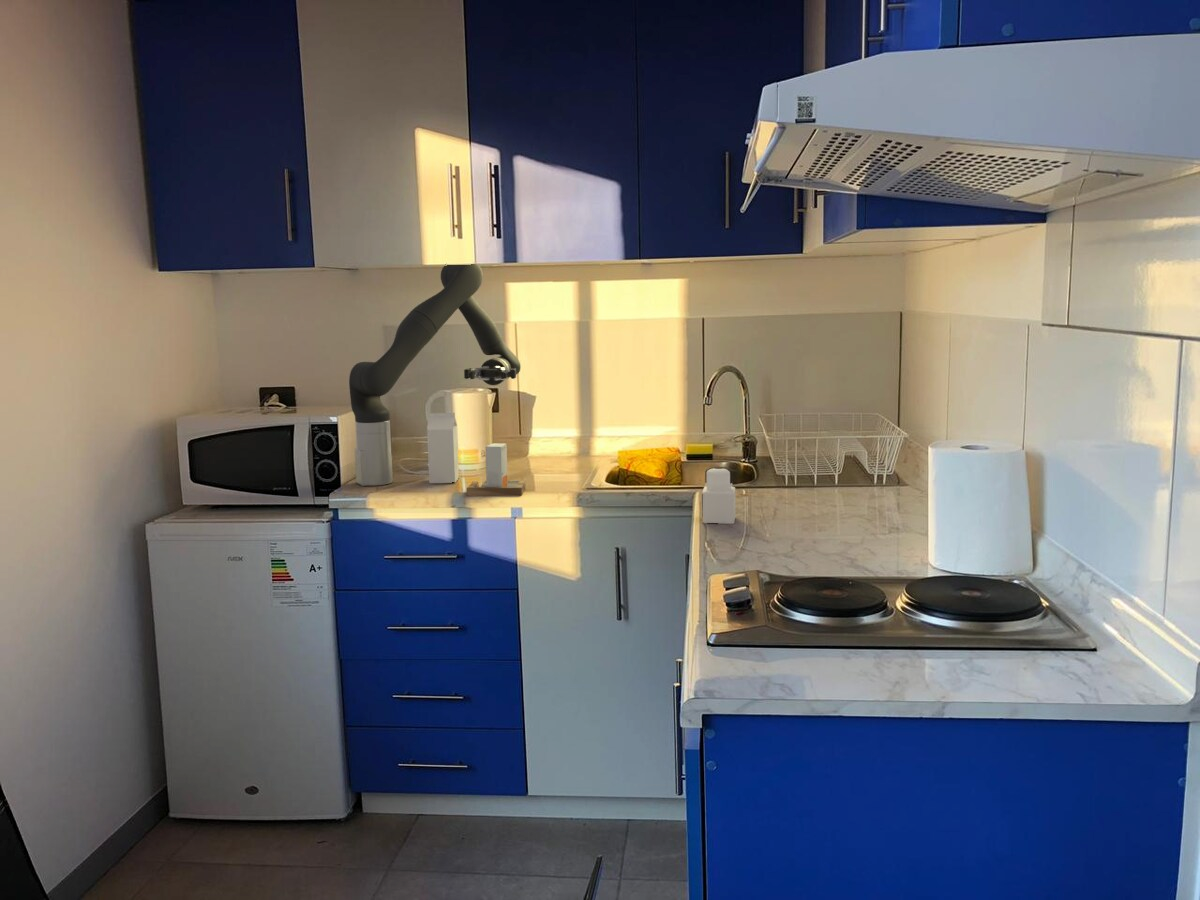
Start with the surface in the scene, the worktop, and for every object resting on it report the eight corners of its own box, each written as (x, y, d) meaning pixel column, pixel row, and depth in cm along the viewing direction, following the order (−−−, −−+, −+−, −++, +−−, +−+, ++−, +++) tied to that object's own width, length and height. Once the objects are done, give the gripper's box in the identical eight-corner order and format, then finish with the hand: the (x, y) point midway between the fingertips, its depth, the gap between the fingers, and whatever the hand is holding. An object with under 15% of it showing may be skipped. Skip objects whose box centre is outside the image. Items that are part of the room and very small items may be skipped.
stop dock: (478, 482, 287) (477, 475, 287) (529, 482, 287) (528, 474, 286) (467, 496, 269) (466, 488, 268) (521, 495, 268) (521, 487, 268)
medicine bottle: (703, 516, 240) (703, 465, 238) (735, 517, 239) (735, 465, 237) (701, 523, 233) (701, 470, 232) (734, 524, 232) (734, 470, 230)
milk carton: (455, 483, 286) (452, 414, 283) (429, 484, 286) (426, 414, 283) (459, 478, 293) (456, 411, 290) (433, 479, 293) (431, 411, 290)
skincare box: (502, 492, 270) (501, 446, 268) (486, 492, 271) (484, 446, 269) (508, 488, 276) (507, 443, 274) (492, 488, 277) (491, 443, 275)
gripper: (470, 358, 303) (460, 361, 287) (519, 358, 303) (512, 361, 287) (470, 384, 304) (461, 389, 288) (519, 384, 304) (513, 388, 288)
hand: (487, 375), depth 287 cm, fingers open, 8 cm apart
